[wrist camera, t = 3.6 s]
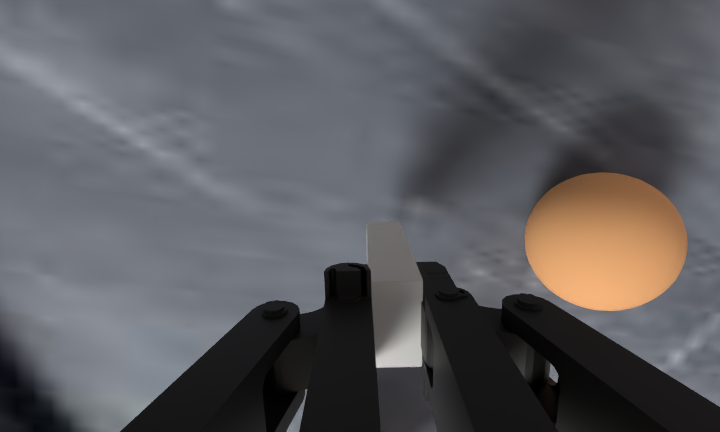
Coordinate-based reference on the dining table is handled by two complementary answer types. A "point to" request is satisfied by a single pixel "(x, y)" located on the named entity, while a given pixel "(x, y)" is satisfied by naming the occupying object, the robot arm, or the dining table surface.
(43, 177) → the dining table surface
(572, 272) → the ball
